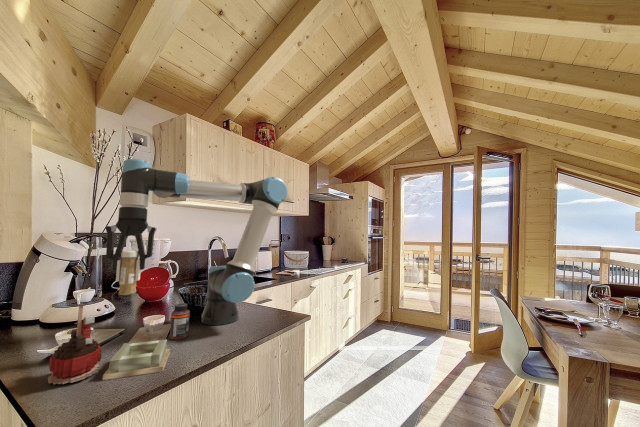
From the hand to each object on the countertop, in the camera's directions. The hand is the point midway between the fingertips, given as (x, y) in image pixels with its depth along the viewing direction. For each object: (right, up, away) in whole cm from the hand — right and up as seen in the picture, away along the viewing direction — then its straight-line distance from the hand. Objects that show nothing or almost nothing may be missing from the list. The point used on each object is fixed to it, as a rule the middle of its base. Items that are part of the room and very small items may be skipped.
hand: (128, 280), depth 83 cm
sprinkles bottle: (0, -4, 0) cm, 4 cm away
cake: (-2, -20, -17) cm, 26 cm away
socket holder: (+11, -21, -10) cm, 26 cm away
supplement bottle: (+11, -23, +10) cm, 27 cm away
